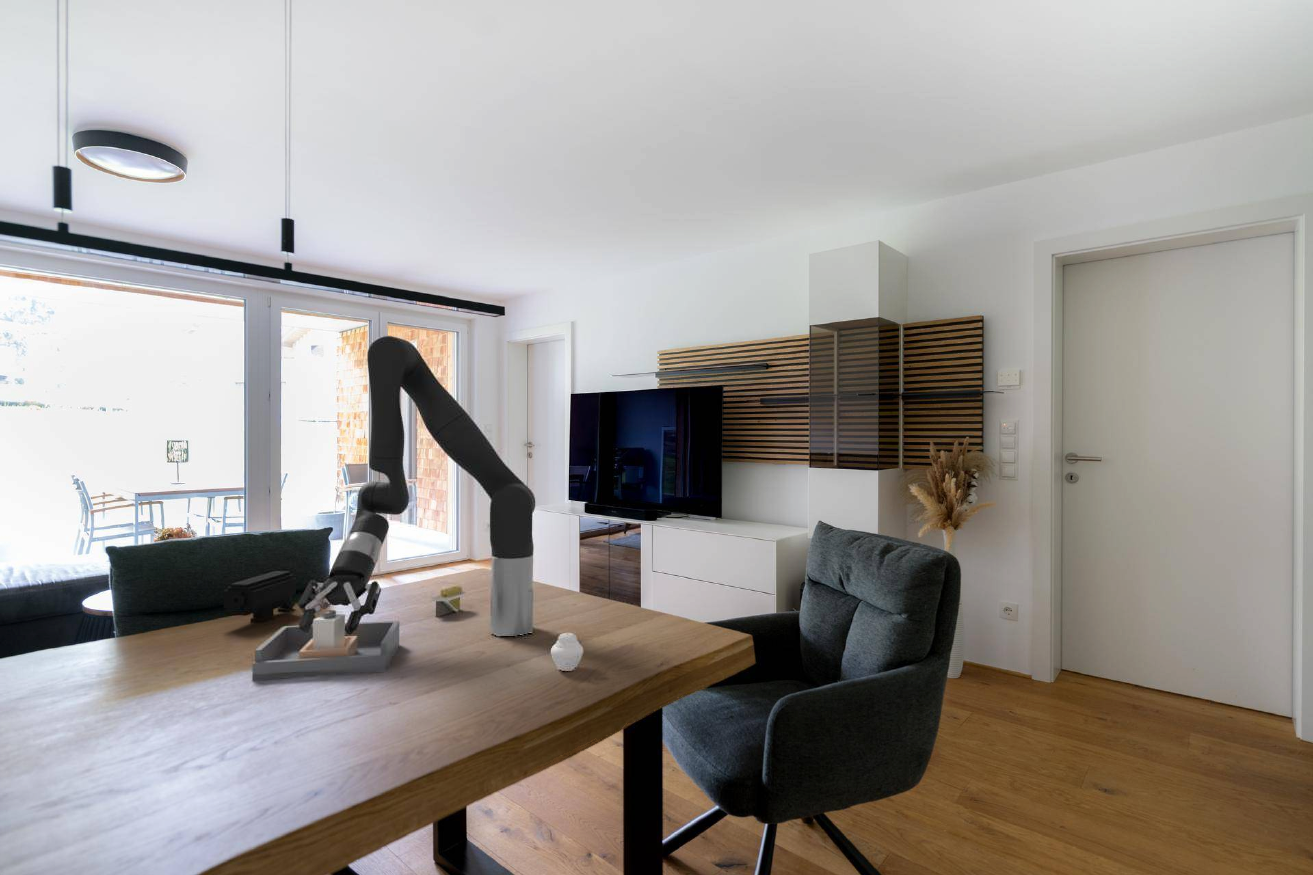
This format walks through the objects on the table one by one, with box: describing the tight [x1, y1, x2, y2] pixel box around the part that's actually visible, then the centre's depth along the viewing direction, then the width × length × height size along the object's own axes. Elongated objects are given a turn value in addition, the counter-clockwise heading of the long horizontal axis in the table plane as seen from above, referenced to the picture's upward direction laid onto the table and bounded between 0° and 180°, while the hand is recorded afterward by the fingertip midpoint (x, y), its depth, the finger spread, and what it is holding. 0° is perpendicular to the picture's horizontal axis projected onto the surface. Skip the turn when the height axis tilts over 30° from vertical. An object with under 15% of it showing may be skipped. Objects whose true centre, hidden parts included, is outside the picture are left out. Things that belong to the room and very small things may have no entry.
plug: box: [312, 609, 346, 650], centre depth 122 cm, size 4×4×9 cm
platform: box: [430, 585, 467, 618], centre depth 158 cm, size 12×18×7 cm, turn 156°
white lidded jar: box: [550, 632, 584, 670], centre depth 121 cm, size 6×6×7 cm
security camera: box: [223, 570, 297, 623], centre depth 152 cm, size 7×18×10 cm, turn 174°
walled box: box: [251, 620, 400, 681], centre depth 124 cm, size 22×16×5 cm
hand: (325, 631), depth 120 cm, fingers open, 8 cm apart
